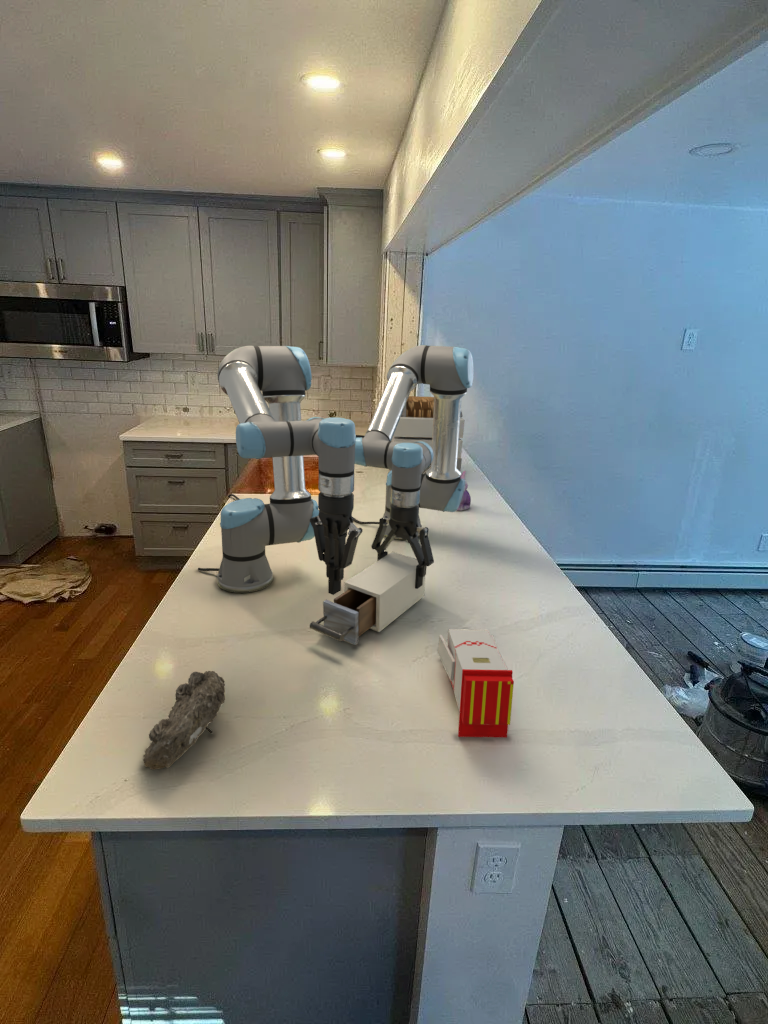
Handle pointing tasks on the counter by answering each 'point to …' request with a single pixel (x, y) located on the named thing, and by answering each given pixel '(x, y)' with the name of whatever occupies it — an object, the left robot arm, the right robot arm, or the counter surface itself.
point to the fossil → (185, 719)
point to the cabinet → (389, 586)
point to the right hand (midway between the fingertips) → (400, 580)
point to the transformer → (421, 424)
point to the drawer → (347, 616)
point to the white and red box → (478, 682)
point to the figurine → (464, 496)
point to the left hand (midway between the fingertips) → (334, 591)
